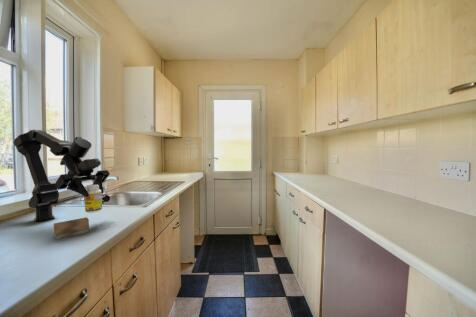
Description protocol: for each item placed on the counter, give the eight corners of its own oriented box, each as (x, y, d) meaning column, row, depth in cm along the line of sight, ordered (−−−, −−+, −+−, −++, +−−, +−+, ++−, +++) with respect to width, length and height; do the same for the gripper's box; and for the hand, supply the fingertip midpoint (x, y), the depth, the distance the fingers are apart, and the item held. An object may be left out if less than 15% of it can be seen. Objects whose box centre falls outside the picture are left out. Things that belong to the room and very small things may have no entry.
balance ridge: (55, 239, 78) (55, 226, 77) (53, 235, 82) (53, 222, 81) (89, 231, 85) (89, 219, 84) (86, 228, 89) (86, 216, 88)
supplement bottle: (82, 211, 88) (81, 185, 87) (96, 208, 93) (96, 183, 92) (90, 213, 85) (89, 187, 85) (105, 210, 90) (104, 184, 89)
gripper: (58, 152, 80) (80, 184, 77) (106, 151, 98) (125, 178, 94) (46, 173, 84) (66, 205, 80) (94, 168, 101) (112, 195, 98)
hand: (95, 194), depth 88 cm, fingers closed on supplement bottle, 6 cm apart
